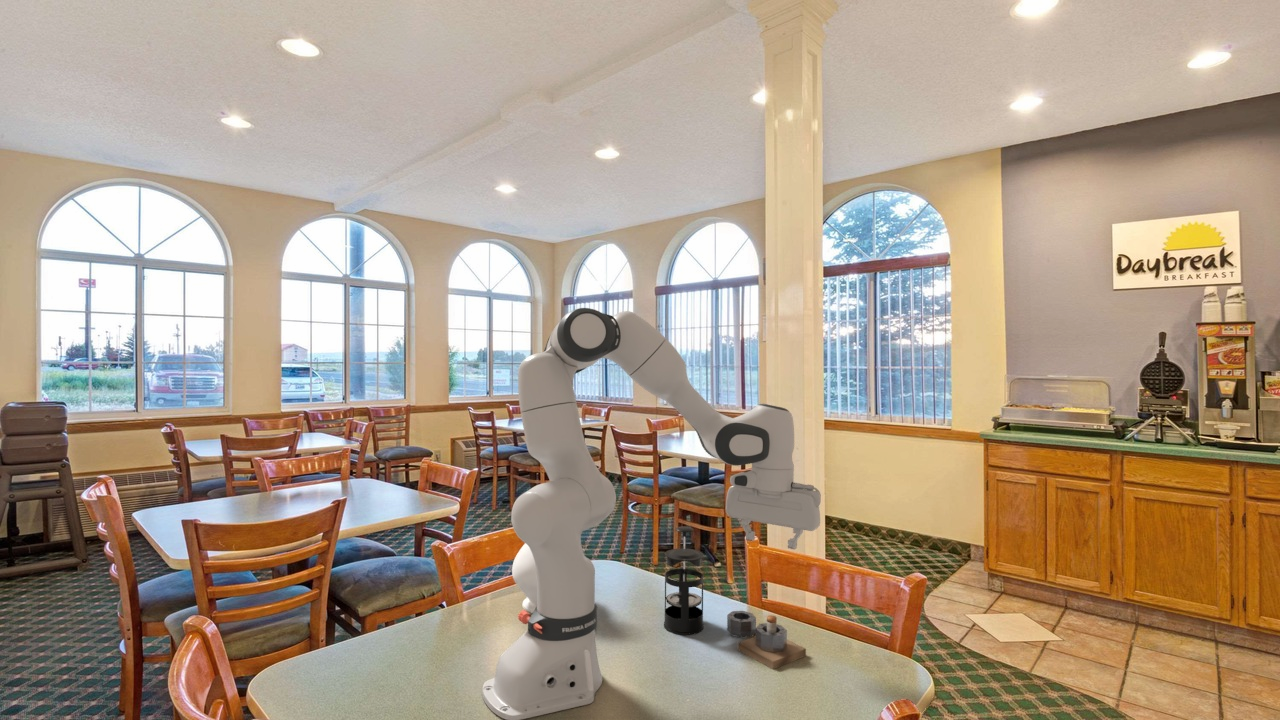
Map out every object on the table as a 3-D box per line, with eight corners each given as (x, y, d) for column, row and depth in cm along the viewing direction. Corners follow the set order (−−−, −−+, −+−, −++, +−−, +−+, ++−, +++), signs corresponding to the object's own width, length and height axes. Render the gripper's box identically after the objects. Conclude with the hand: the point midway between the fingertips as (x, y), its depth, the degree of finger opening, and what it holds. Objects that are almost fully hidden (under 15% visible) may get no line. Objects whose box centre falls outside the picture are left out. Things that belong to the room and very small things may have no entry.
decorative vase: (577, 619, 143) (578, 514, 144) (503, 617, 144) (505, 513, 144) (586, 591, 161) (587, 498, 161) (520, 590, 162) (521, 497, 162)
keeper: (772, 669, 121) (773, 631, 121) (737, 649, 129) (738, 614, 129) (805, 655, 126) (805, 620, 126) (770, 637, 135) (770, 604, 135)
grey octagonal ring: (747, 639, 134) (748, 623, 134) (723, 632, 137) (723, 617, 137) (759, 630, 138) (759, 615, 139) (735, 623, 142) (735, 608, 142)
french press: (705, 636, 135) (706, 534, 135) (663, 636, 135) (664, 533, 135) (701, 615, 147) (702, 521, 147) (663, 614, 147) (664, 520, 147)
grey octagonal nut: (765, 653, 124) (765, 636, 124) (751, 641, 130) (751, 624, 130) (791, 650, 126) (791, 633, 126) (776, 637, 131) (776, 621, 131)
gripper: (825, 483, 126) (823, 549, 126) (735, 472, 137) (733, 532, 137) (816, 488, 121) (814, 557, 120) (723, 476, 132) (721, 539, 132)
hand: (770, 544), depth 129 cm, fingers open, 8 cm apart
